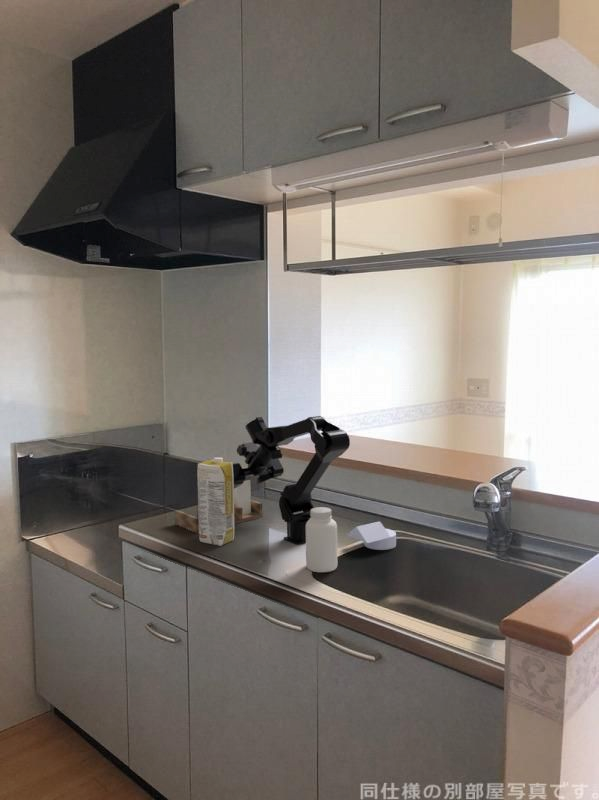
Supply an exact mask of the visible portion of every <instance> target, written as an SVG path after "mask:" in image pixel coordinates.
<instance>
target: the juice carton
mask: <svg viewBox="0 0 599 800" xmlns="http://www.w3.org/2000/svg"><path fill="white" fill-rule="evenodd" d="M196 473H197V474H196V475H197V506H198V517H199V533H198V536H199V541H200V542H201V543H203V544H204V543H205V544H209V545H210V544H211V545H214V546H219V547H221V546H224V545H226V544H229V543H230V542H232V541H234V539H235V524H234V479H233V462H231V461H230V462H229V461H228V462H227V461H225V462H224V458H223V457H213V459H210V460H209V459H208V460H205V461H202V462H199V463H197V472H196Z"/></svg>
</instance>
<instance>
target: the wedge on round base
mask: <svg viewBox="0 0 599 800" xmlns="http://www.w3.org/2000/svg"><path fill="white" fill-rule="evenodd" d="M345 534H346V536H348V537H351V538H353V539H356V540H358V541H360V542H363V546H364V545H365V546H364V547H366V548H368V549H371V550H377V551H386V550H391V549H394V548H396V546H397V533H396V531H395V530H392V529H390V528H386V527H385V526H384V525H383V523H382V522H381V521H375V522H371V523H366V524H362V525H358V526H357V525H356V526H355V527H353V529H351V530H350V531H349V532H347V533H345Z"/></svg>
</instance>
